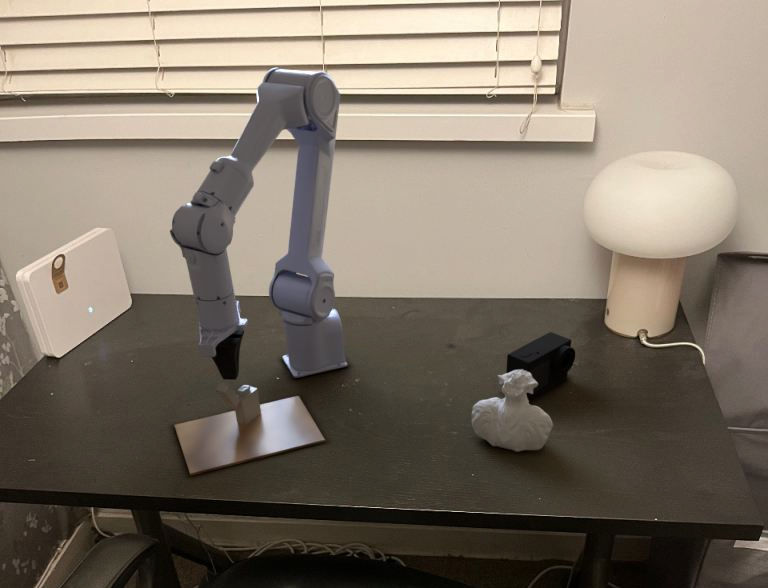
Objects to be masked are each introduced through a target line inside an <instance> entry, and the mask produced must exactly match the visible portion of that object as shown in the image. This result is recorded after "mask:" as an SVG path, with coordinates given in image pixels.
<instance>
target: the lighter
mask: <svg viewBox="0 0 768 588" xmlns="http://www.w3.org/2000/svg"><path fill="white" fill-rule="evenodd" d="M215 391H216V393H217V394H218V395H219V397H220V398H221V399H222V401H223V402H224V403H225V404H226V406H228V407H230V408H234V411H235V413H236V418H237V423H239V424H242V425H247V424H248V423H249V422H250V421H252V420H253V419H254V418H255V417H257V416H258V415H259V414H260V413H261V409H260V405H261V404H260V398H259V393H258V388H257V387H253V386H251V385H249V384H243V385H242V386H240V387H239V388H237V393H236V392H235V391H234V390H233V388H232V387H231V386H230V385H229V384H227V383H224V382H222V381H221V382H219V384H218V385H217V387H216V389H215Z"/></svg>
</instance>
